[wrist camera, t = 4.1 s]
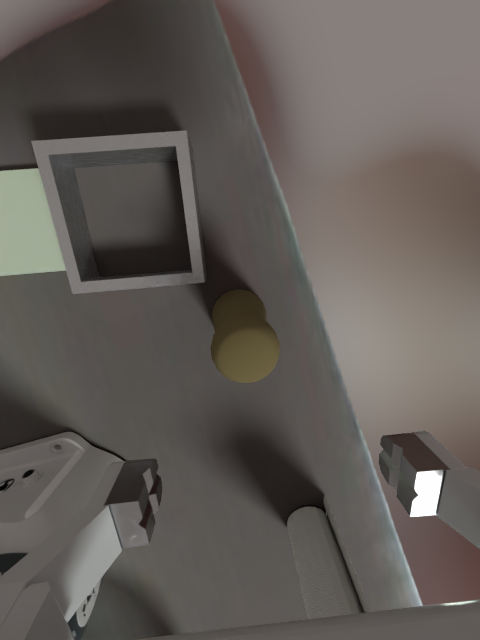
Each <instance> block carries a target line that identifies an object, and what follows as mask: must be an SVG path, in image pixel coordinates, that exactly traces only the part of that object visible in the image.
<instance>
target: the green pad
mask: <svg viewBox="0 0 480 640" xmlns="http://www.w3.org/2000/svg"><path fill="white" fill-rule="evenodd" d="M64 270H66V268H65V264H64V260H63V257H62V253H61V249H60V246H59V242H58V238H57V235H56V231H55V227H54V223H53V220H52V216H51V212H50V209H49V205H48V201H47V198H46V194H45V190H44V187H43V183H42V179H41V176H40V172H39V168H35V169H21V170H7V171H0V276H4V275H16V274H28V273H40V272H52V271H64Z"/></svg>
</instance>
